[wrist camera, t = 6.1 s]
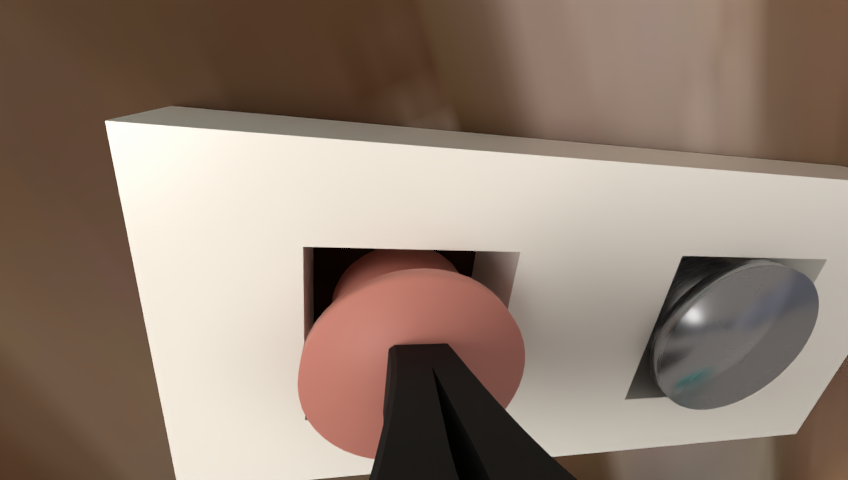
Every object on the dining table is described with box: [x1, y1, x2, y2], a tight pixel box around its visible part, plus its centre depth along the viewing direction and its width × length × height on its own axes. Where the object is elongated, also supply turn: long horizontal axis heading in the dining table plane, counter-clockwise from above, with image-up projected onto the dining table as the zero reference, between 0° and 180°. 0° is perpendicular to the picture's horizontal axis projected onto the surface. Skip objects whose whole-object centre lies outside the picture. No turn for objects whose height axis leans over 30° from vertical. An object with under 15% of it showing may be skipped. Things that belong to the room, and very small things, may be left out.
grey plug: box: [645, 256, 819, 410], centre depth 13 cm, size 5×5×3 cm
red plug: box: [298, 249, 525, 459], centre depth 10 cm, size 5×5×3 cm
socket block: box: [105, 106, 848, 480], centre depth 13 cm, size 22×10×3 cm, turn 83°
